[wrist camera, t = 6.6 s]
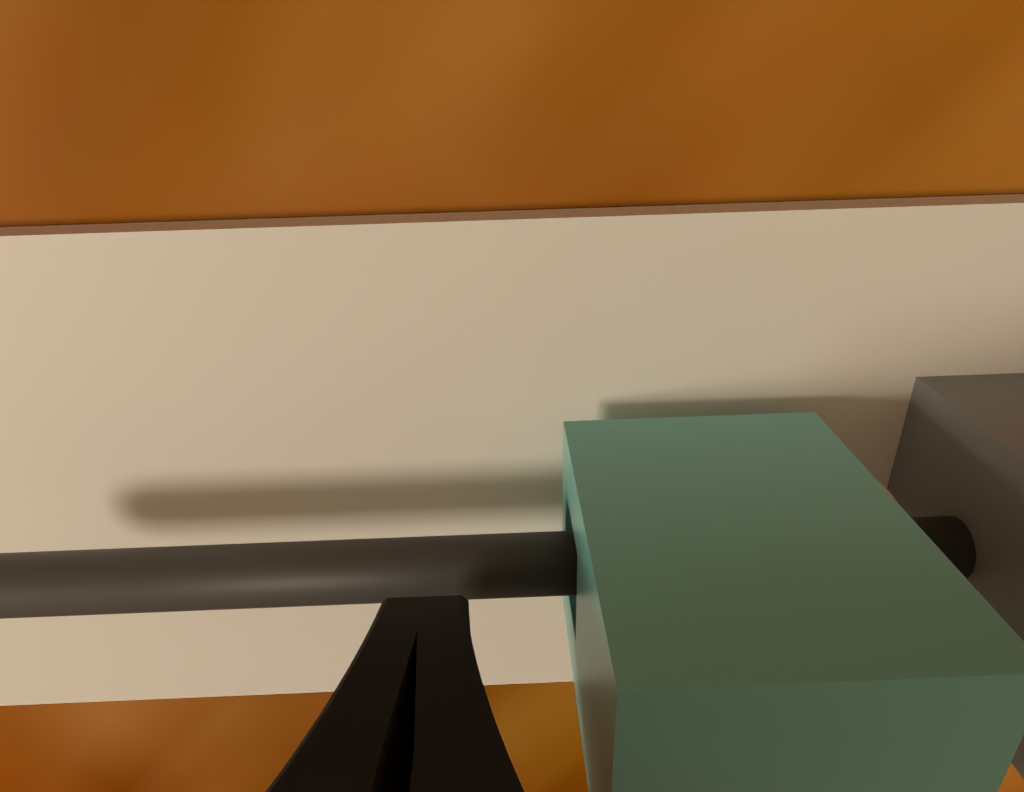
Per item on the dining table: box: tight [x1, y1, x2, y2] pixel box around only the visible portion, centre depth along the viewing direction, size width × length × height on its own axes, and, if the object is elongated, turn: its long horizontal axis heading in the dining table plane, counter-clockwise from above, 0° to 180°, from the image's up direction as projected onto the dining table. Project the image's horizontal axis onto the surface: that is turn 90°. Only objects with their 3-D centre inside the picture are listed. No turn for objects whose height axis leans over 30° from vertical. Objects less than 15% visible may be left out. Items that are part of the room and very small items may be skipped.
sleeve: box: [562, 412, 1024, 792], centre depth 12 cm, size 4×5×6 cm
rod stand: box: [0, 194, 1024, 779], centre depth 13 cm, size 12×28×7 cm, turn 91°
